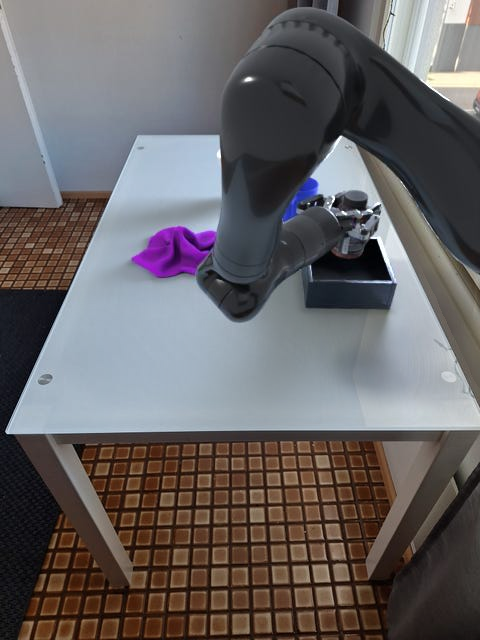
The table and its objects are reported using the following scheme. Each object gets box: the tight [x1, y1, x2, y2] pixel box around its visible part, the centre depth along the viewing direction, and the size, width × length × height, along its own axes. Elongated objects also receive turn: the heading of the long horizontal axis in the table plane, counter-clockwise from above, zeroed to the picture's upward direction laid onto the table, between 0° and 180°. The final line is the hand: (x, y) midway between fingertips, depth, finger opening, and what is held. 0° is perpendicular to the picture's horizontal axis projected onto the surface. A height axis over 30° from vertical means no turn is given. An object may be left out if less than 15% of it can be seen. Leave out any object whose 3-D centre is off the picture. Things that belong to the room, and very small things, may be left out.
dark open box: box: [300, 236, 398, 310], centre depth 91 cm, size 16×16×6 cm
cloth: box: [130, 225, 216, 278], centre depth 99 cm, size 22×19×6 cm
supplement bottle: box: [331, 189, 370, 259], centre depth 84 cm, size 6×6×11 cm
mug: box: [282, 177, 320, 223], centre depth 106 cm, size 8×12×10 cm
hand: (361, 202), depth 83 cm, fingers closed on supplement bottle, 6 cm apart
